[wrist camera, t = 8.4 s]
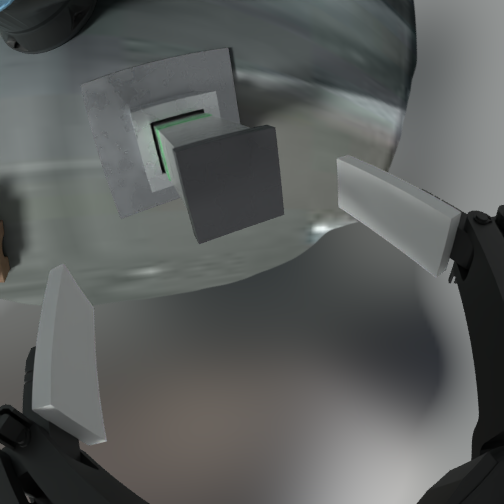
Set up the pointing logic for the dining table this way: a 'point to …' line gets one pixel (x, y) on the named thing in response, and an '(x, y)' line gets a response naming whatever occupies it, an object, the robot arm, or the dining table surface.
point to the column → (221, 171)
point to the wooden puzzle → (3, 257)
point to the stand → (152, 119)
